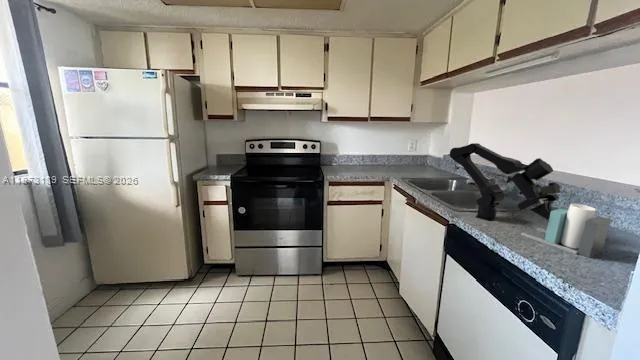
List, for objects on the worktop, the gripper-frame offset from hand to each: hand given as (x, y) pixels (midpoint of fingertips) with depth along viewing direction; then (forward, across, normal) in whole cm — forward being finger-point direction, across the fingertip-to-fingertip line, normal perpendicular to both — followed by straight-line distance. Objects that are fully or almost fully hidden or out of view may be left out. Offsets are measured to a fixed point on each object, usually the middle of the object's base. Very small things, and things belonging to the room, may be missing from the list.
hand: (553, 221), depth 101 cm
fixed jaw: (+7, 0, +3) cm, 8 cm away
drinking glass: (+9, 0, +1) cm, 9 cm away
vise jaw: (+6, 0, +4) cm, 7 cm away
